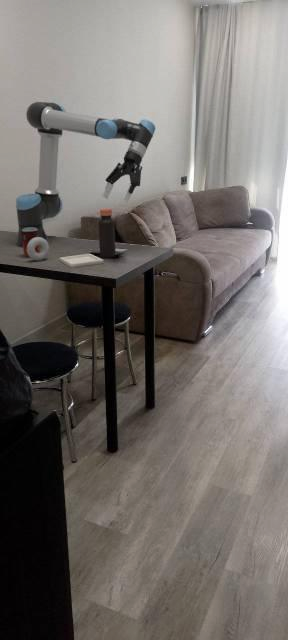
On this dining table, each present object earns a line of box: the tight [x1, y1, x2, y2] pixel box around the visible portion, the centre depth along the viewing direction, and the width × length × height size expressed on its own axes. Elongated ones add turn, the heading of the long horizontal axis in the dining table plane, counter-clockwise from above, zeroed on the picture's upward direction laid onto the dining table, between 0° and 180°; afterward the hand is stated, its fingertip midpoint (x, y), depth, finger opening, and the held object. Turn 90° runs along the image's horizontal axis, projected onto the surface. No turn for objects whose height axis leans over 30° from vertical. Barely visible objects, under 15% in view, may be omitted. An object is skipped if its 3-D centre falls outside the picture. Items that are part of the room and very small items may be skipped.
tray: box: [59, 253, 104, 269], centre depth 209 cm, size 14×14×2 cm
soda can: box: [22, 227, 41, 258], centre depth 220 cm, size 7×7×12 cm
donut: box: [27, 237, 50, 261], centre depth 212 cm, size 10×3×10 cm, turn 128°
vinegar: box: [98, 208, 116, 259], centre depth 215 cm, size 7×7×20 cm
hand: (114, 198), depth 217 cm, fingers open, 13 cm apart
